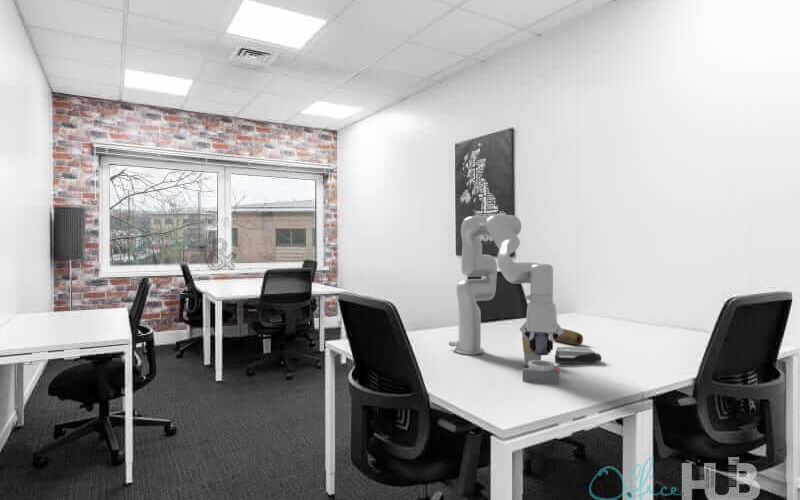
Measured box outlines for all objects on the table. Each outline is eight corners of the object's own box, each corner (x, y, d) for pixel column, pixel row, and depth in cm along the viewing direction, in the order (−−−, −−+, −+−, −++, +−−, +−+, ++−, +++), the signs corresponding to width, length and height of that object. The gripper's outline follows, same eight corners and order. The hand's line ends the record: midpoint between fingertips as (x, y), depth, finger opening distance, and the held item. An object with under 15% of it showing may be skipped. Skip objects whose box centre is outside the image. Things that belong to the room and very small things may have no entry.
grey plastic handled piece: (605, 364, 187) (605, 351, 187) (558, 366, 183) (558, 353, 183) (581, 355, 203) (581, 343, 203) (537, 357, 199) (537, 345, 199)
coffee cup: (532, 368, 180) (532, 328, 180) (515, 362, 189) (515, 325, 188) (550, 365, 185) (550, 326, 184) (533, 360, 193) (533, 323, 193)
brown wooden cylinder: (548, 341, 230) (548, 328, 230) (557, 340, 234) (557, 326, 234) (576, 347, 218) (576, 332, 218) (584, 345, 222) (584, 331, 222)
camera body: (522, 381, 163) (522, 364, 163) (523, 374, 172) (523, 358, 171) (559, 384, 159) (559, 367, 159) (558, 377, 168) (558, 361, 168)
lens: (533, 354, 164) (533, 333, 164) (534, 351, 168) (534, 330, 168) (548, 355, 162) (548, 334, 162) (548, 352, 167) (548, 331, 167)
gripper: (515, 299, 164) (515, 352, 164) (567, 301, 159) (567, 355, 159) (517, 297, 171) (516, 347, 171) (567, 299, 166) (566, 350, 166)
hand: (541, 350), depth 165 cm, fingers closed on lens, 5 cm apart
